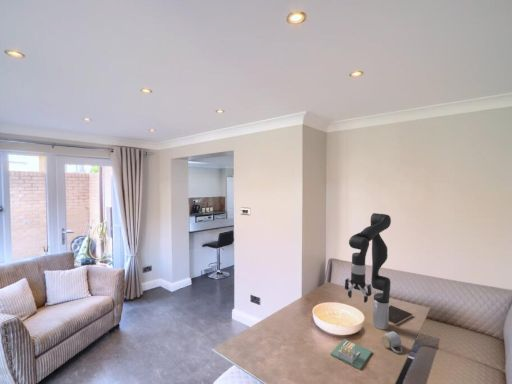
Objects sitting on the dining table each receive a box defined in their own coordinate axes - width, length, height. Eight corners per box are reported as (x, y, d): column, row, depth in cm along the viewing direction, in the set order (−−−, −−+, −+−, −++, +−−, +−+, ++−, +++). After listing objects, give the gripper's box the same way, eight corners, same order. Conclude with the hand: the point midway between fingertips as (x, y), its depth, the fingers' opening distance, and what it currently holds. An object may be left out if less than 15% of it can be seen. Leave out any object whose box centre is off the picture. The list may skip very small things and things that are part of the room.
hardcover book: (412, 317, 182) (412, 314, 182) (395, 326, 170) (395, 323, 170) (390, 307, 196) (390, 304, 196) (372, 316, 183) (373, 313, 183)
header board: (344, 340, 153) (344, 329, 153) (372, 352, 143) (372, 341, 142) (330, 355, 140) (330, 343, 140) (359, 369, 129) (360, 357, 129)
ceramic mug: (379, 344, 150) (380, 331, 150) (390, 341, 153) (390, 328, 153) (395, 355, 141) (396, 342, 140) (406, 352, 143) (406, 339, 143)
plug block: (346, 351, 142) (346, 340, 142) (354, 355, 139) (354, 344, 139) (342, 355, 138) (342, 344, 138) (350, 359, 135) (351, 348, 135)
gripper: (373, 273, 143) (372, 301, 144) (348, 267, 153) (348, 293, 153) (368, 276, 137) (368, 306, 138) (343, 270, 147) (342, 298, 148)
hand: (357, 299), depth 146 cm, fingers open, 8 cm apart
